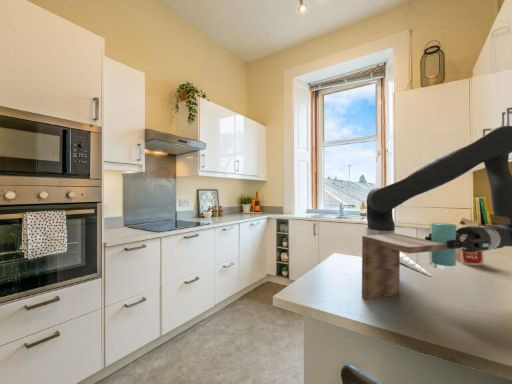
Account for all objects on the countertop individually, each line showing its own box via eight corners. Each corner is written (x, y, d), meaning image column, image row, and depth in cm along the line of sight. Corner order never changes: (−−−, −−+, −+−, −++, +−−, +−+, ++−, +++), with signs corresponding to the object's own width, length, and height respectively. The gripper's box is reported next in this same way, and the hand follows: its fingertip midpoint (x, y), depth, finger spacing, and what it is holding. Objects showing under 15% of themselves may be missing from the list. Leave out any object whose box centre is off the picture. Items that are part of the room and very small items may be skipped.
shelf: (395, 292, 79) (395, 233, 79) (446, 315, 65) (446, 243, 64) (361, 297, 75) (362, 235, 75) (408, 323, 60) (408, 247, 60)
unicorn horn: (420, 277, 94) (421, 264, 93) (389, 259, 117) (389, 249, 117) (433, 277, 93) (434, 264, 93) (400, 259, 117) (400, 249, 117)
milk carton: (462, 264, 109) (463, 218, 109) (450, 258, 118) (450, 216, 118) (486, 265, 108) (487, 219, 108) (471, 259, 117) (472, 216, 117)
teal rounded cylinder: (434, 264, 70) (434, 225, 70) (428, 259, 75) (429, 222, 75) (459, 267, 68) (459, 226, 67) (451, 261, 73) (451, 223, 73)
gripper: (451, 223, 82) (413, 225, 77) (507, 229, 69) (465, 233, 63) (451, 245, 83) (413, 250, 77) (506, 257, 69) (465, 263, 64)
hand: (437, 242), depth 70 cm, fingers closed on teal rounded cylinder, 5 cm apart
